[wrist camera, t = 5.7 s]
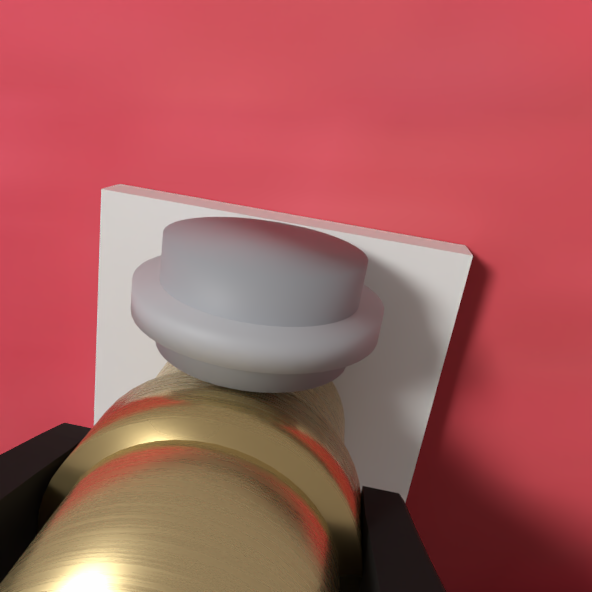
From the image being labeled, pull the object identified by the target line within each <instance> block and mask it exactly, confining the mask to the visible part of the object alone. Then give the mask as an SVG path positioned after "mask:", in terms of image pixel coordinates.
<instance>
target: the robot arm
mask: <svg viewBox="0 0 592 592" xmlns="http://www.w3.org/2000/svg"><path fill="white" fill-rule="evenodd" d="M90 430H91V428H87V427H82V426H77V425H72V424H68V423H63V424H61V425H59V426H56V427H54V428H52V429H50V430H48V431H46V432H44V433H42V434H40V435H38V436H36V437H34V438H32V439H30V440H28V441H26V442H24V443H22V444H21V445H19V446H17V447H15V448H13V449H11V450H9V451H7V452H5V453H3V454H1V455H0V583H1V582H2V581H3V579H4V578H5V577H6V575H7V574H8V573H9V572H10V570H11V569H12V568H13V566H14V565H15V564H16V562H17V561H18V560H19V558H20V557H21V556H22V554H23V553H24V552H25V550H26V549H27V548H28V546H29V545H30V544H31V542H32V541H33V540H34V538H35V537H36V536H37V523H38V515H39V509H40V505H41V502H42V499H43V495H44V493H45V491H46V489H47V487H48V485H49V483H50V481H51V479H52V477H53V476H54V474H55V473H56V472H57V470H58V469H59V468H60V466H61V465H62V464H63V462H64V461H65V460H66V459H67V458H68V456H69V455H70V454H71V453H72V452H73V450H74V449H75V448H76V447H77V446H78V444H79V443H80V442H81V441H82V440H83V438H84V437H85V436H86V435H87V434H88V432H89V431H90ZM361 514H362V565H363V570H362V580H361V584H360V588H359V592H446V590H445V588H444V586H443V584H442V583H441V581H440V579H439V577H438V575H437V573H436V571H435V569H434V567H433V565H432V563H431V560H430V558H429V556H428V554H427V552H426V550H425V548H424V546H423V543H422V541H421V539H420V537H419V535H418V532H417V530H416V528H415V526H414V523H413V521H412V519H411V516H410V514H409V512H408V509H407V507H406V504H405V502H404V500H403V498H402V497H401V495H400V494H399V493H395V492H390V491H385V490H381V489H376V488H371V487H366V486H362V490H361Z"/></svg>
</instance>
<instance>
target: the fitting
mask: <svg viewBox="0 0 592 592" xmlns="http://www.w3.org/2000/svg"><path fill="white" fill-rule="evenodd" d="M472 258H473V255H472V254H471V252H470V251H469V249H468V248H467V247H466V245H460V244H455V243H449V242H443V241H438V240H432V239H427V238H421V237H415V236H410V235H404V234H398V233H393V232H387V231H382V230H376V229H370V228H365V227H359V226H354V225H348V224H342V223H337V222H331V221H326V220H320V219H314V218H309V217H303V216H298V215H292V214H286V213H281V212H275V211H269V210H264V209H258V208H253V207H247V206H241V205H236V204H230V203H225V202H219V201H213V200H208V199H202V198H197V197H191V196H185V195H180V194H174V193H168V192H163V191H157V190H152V189H146V188H140V187H135V186H129V185H124V184H117V185H114V186H110V187H107V188H103V189H101V218H100V249H99V280H98V311H97V343H96V374H95V405H94V425H95V424H96V423H97V422H98V420H99V419H100V418H101V417H102V416H103V414H104V413H105V412H106V411H107V410H108V409H109V408H110V407H111V406H112V405H113V404H114V403H115V402H116V401H117V400H118V399H119V398H120V397H122V396H123V395H124V394H126V393H127V392H129V391H130V390H131V389H133V388H135V387H137V386H139V385H141V384H143V383H145V382H147V381H149V380H152V379H154V378H156V376H157V375H158V374H159V372H160V371H161V370H162V368H163V367H164V366H165V364H166V363H167V362H169V363H170V364H171V365H173V366H174V367H176V368H177V369H179V370H180V371H182V372H184V373H186V374H188V375H190V376H192V377H195V378H197V379H200V380H202V381H205V382H208V383H211V384H214V385H218V386H222V387H226V388H231V389H237V390H242V391H251V392H261V393H286V392H296V391H303V390H308V389H313V388H316V387H319V386H322V385H325V384H327V383H329V382H331V381H332V382H333V383H334V385H335V387H336V389H337V391H338V394H339V396H340V399H341V402H342V406H343V410H344V418H345V433H344V445H345V447H346V448H347V450H348V452H349V454H350V456H351V458H352V461H353V463H354V465H355V468H356V472H357V475H358V479H359V483H360V491H361V490H362V486H366V487H371V488H376V489H381V490H385V491H390V492H395V493H399V494H400V495H401V497H402V498H403V500H404V502H405V503H406V499H407V495H408V492H409V488H410V484H411V481H412V477H413V473H414V470H415V466H416V462H417V459H418V455H419V451H420V448H421V444H422V440H423V437H424V433H425V429H426V426H427V422H428V419H429V415H430V411H431V408H432V404H433V400H434V397H435V393H436V389H437V386H438V382H439V378H440V375H441V371H442V367H443V364H444V360H445V356H446V353H447V349H448V345H449V342H450V338H451V335H452V331H453V327H454V324H455V320H456V316H457V313H458V309H459V305H460V302H461V298H462V294H463V291H464V287H465V283H466V280H467V276H468V272H469V269H470V265H471V261H472Z"/></svg>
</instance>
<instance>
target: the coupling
mask: <svg viewBox="0 0 592 592" xmlns="http://www.w3.org/2000/svg"><path fill="white" fill-rule="evenodd" d="M344 433H345V418H344V410H343V406H342V402H341V399H340V396H339V394H338V391H337V389H336V387H335V385H334V383H333V382H332V381H331V382H329V383H327V384H325V385H322V386H319V387H316V388H313V389H308V390H303V391H296V392H286V393H261V392H251V391H242V390H237V389H231V388H226V387H222V386H218V385H214V384H211V383H208V382H205V381H202V380H200V379H197V378H195V377H192V376H190V375H188V374H186V373H184V372H182V371H180V370H179V369H177V368H176V367H174V366H173V365H171V364H170V363H169V362H167V363H166V364H165V366H164V367H163V368H162V370H161V371H160V372H159V374H158V375H157V376H156V378H154V379H152V380H149V381H147V382H145V383H143V384H141V385H139V386H137V387H135V388H133V389H131V390H130V391H129V392H127V393H126V394H124V395H123V396H122V397H120V398H119V399H118V400H117V401H116V402H115V403H114V404H113V405H112V406H111V407H110V408H109V409H108V410H107V411H106V412H105V413H104V414H103V416H102V417H101V418H100V419H99V420H98V422H97V423H96V424H95V425H94V426H93V428H92V429H91V430H90V431H89V432H88V434H87V435H86V436H85V437H84V438H83V440H82V441H81V442H80V443H79V444H78V446H77V447H76V448H75V449H74V450H73V452H72V453H71V454H70V455H69V456H68V458H67V459H66V460H65V461H64V462H63V464H62V465H61V466H60V468H59V469H58V470H57V472H56V473H55V474H54V476H53V477H52V479H51V481H50V483H49V485H48V487H47V489H46V491H45V493H44V495H43V499H42V502H41V505H40V509H39V515H38V523H37V536H36V537H35V538H34V540H33V541H32V542H31V544H30V545H29V546H28V548H27V549H26V550H25V552H24V553H23V554H22V556H21V557H20V558H19V560H18V561H17V562H16V564H15V565H14V566H13V568H12V569H11V570H10V572H9V573H8V574H7V575H6V577H5V578H4V579H3V581H2V582H1V583H0V592H359V588H360V584H361V580H362V570H363V565H362V514H361V491H360V483H359V479H358V475H357V472H356V468H355V465H354V463H353V461H352V458H351V456H350V454H349V452H348V450H347V448H346V447H345V445H344Z"/></svg>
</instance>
